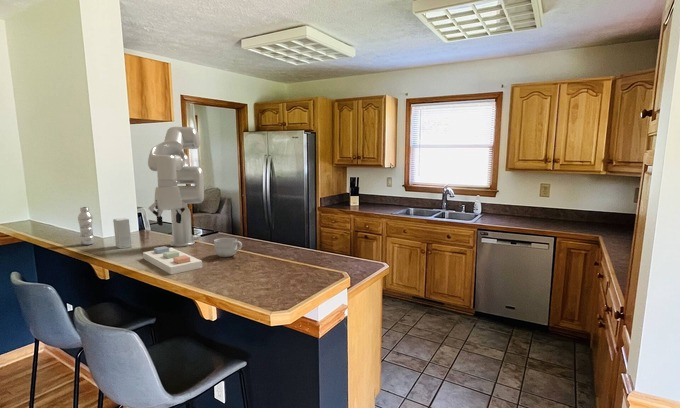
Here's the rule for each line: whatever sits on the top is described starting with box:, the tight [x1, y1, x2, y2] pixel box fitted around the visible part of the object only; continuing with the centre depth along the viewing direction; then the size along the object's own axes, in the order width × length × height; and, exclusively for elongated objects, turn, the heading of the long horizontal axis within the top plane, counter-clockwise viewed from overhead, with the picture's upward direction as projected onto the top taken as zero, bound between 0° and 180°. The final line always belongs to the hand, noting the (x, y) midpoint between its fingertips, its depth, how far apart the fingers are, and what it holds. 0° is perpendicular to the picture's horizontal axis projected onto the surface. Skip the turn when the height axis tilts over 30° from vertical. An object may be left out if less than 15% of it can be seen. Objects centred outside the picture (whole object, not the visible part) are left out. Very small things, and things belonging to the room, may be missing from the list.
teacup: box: [213, 237, 243, 258], centre depth 173 cm, size 14×11×8 cm
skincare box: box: [112, 217, 133, 250], centre depth 188 cm, size 8×6×15 cm
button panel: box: [142, 247, 203, 275], centre depth 161 cm, size 13×32×3 cm, turn 46°
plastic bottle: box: [77, 206, 96, 246], centre depth 191 cm, size 6×7×20 cm
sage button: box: [163, 251, 179, 259], centre depth 160 cm, size 5×5×2 cm
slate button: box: [153, 245, 170, 254], centre depth 168 cm, size 5×5×2 cm
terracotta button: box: [173, 255, 190, 264], centre depth 153 cm, size 5×5×2 cm
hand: (169, 223), depth 158 cm, fingers open, 7 cm apart
